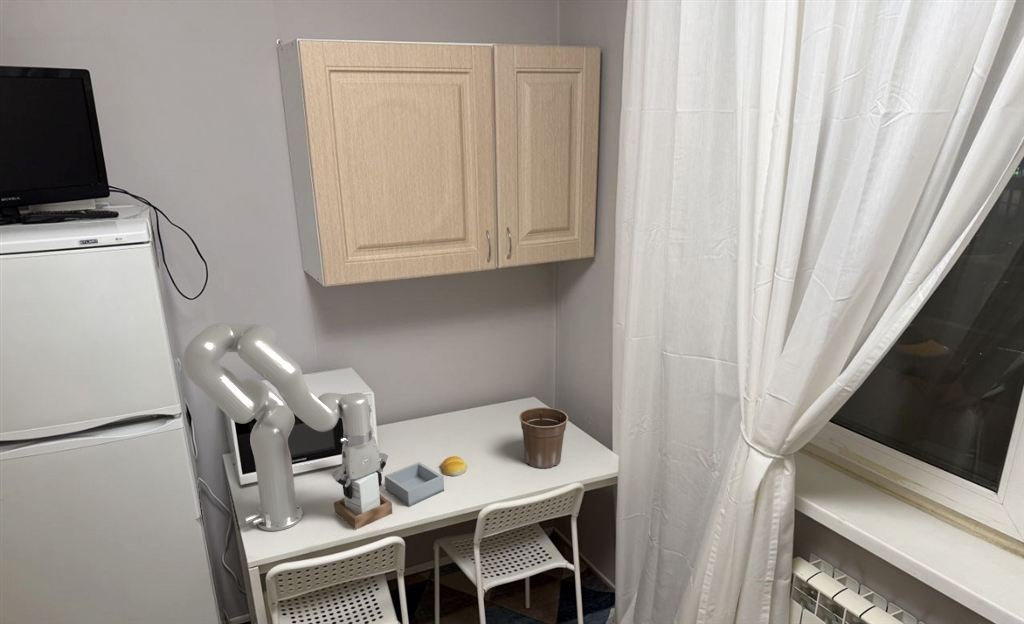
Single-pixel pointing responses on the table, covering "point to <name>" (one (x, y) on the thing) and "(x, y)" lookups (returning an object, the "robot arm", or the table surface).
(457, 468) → the bread roll
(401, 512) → the table surface
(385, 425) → the table surface
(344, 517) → the walnut frame
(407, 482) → the grey bin
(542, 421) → the plant pot
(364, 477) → the supplement box
